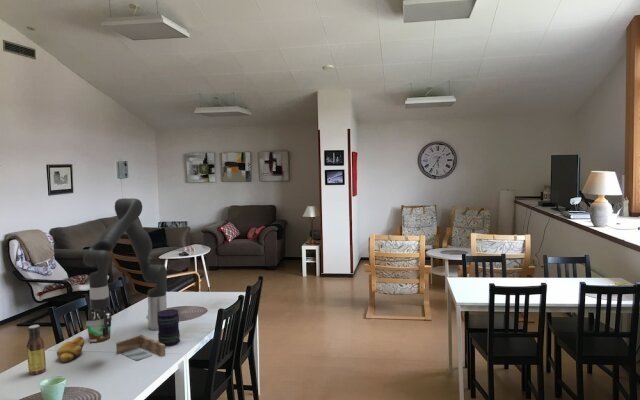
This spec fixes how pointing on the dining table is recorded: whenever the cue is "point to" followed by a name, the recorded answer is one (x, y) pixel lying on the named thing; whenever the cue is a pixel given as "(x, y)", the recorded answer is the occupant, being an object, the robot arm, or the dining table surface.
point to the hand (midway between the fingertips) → (102, 334)
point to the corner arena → (132, 345)
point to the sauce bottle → (35, 351)
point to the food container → (97, 331)
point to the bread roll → (71, 349)
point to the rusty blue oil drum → (168, 327)
